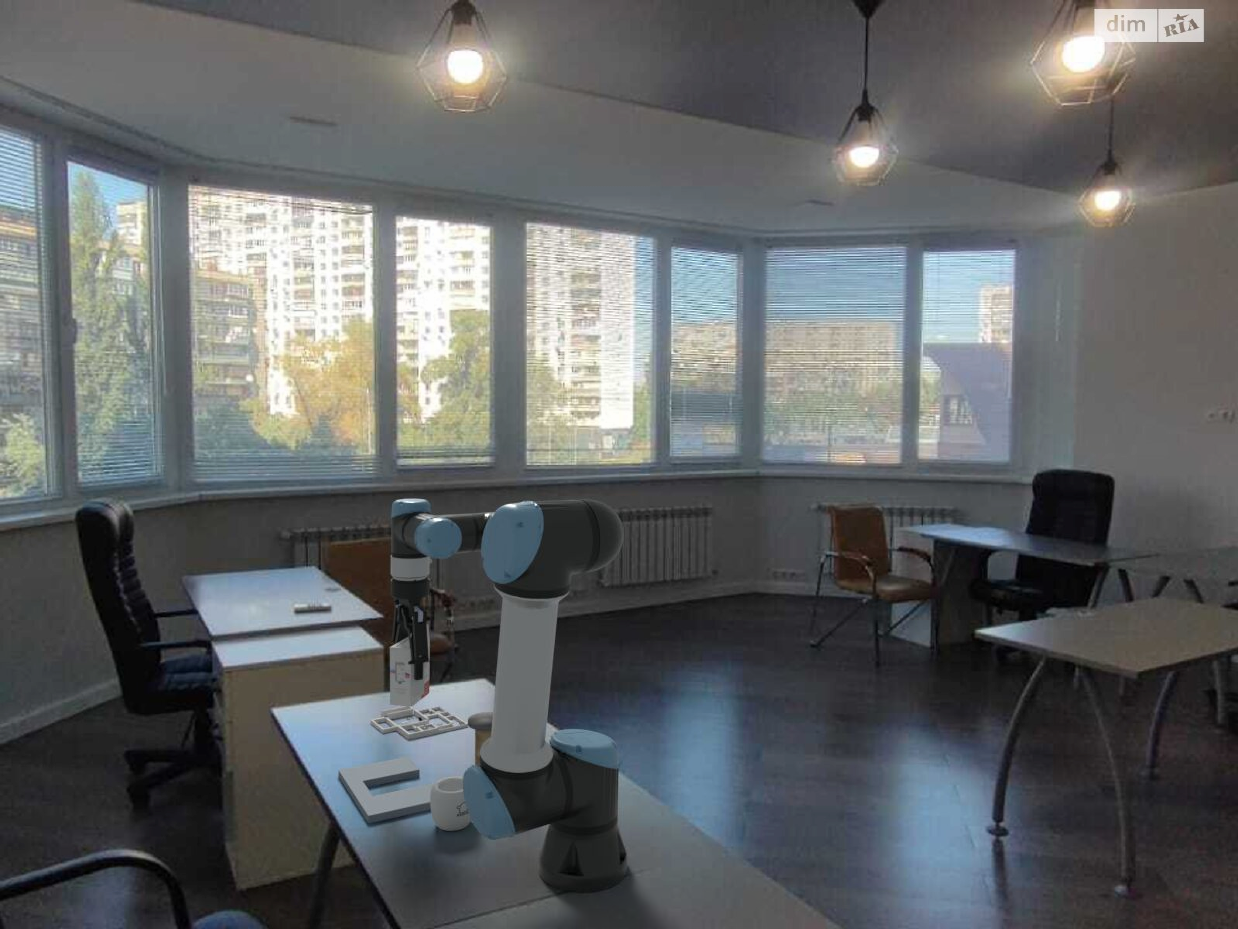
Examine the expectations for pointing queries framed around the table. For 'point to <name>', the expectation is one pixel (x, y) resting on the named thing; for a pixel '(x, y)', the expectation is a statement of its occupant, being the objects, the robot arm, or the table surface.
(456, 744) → the table surface
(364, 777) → the notched board
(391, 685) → the ink cartridge box
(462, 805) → the mug
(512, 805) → the robot arm
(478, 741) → the bobbin post
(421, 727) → the floor plan model
